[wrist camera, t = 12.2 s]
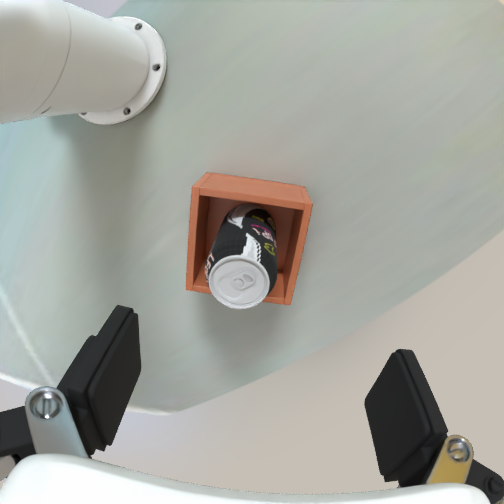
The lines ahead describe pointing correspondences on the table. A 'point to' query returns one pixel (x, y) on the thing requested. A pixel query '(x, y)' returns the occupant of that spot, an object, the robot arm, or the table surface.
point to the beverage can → (243, 258)
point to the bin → (257, 193)
